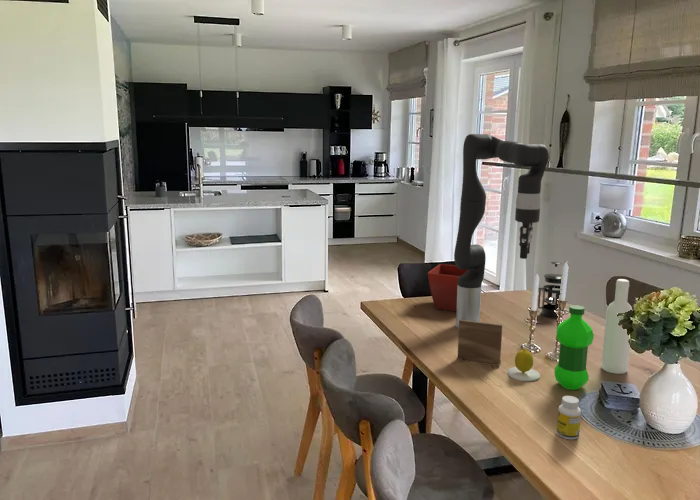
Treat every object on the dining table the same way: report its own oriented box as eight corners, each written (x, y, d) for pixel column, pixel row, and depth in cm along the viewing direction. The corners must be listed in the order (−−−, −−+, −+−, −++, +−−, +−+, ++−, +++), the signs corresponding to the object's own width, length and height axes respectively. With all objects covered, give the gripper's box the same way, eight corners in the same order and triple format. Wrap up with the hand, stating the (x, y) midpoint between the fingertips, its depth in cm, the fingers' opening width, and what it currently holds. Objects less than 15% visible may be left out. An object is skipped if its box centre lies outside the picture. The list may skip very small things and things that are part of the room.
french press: (560, 311, 246) (564, 259, 242) (569, 318, 237) (573, 264, 233) (533, 311, 246) (537, 259, 242) (541, 318, 237) (545, 264, 232)
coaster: (509, 366, 187) (509, 365, 187) (541, 371, 183) (541, 369, 183) (505, 378, 178) (505, 376, 178) (538, 383, 174) (538, 381, 174)
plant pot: (469, 316, 240) (471, 277, 236) (425, 310, 248) (426, 272, 244) (479, 304, 257) (481, 267, 253) (438, 299, 265) (439, 263, 261)
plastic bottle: (571, 376, 179) (577, 300, 174) (596, 390, 170) (603, 310, 165) (545, 381, 176) (551, 303, 171) (569, 395, 166) (576, 314, 161)
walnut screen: (459, 356, 196) (460, 317, 193) (500, 362, 190) (503, 322, 188) (456, 361, 191) (457, 322, 188) (498, 368, 186) (501, 327, 183)
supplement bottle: (552, 429, 147) (555, 394, 145) (572, 428, 148) (576, 393, 146) (562, 440, 142) (565, 404, 140) (583, 439, 142) (586, 403, 140)
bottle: (616, 375, 180) (625, 284, 174) (595, 367, 187) (603, 278, 181) (632, 371, 184) (642, 281, 178) (611, 362, 191) (620, 276, 185)
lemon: (515, 375, 179) (516, 351, 177) (513, 368, 184) (515, 345, 182) (533, 377, 178) (535, 353, 176) (531, 370, 183) (533, 346, 181)
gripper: (538, 210, 175) (534, 261, 179) (541, 205, 188) (538, 252, 192) (513, 208, 178) (510, 259, 181) (518, 203, 191) (515, 251, 194)
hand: (524, 255), depth 186 cm, fingers open, 8 cm apart
